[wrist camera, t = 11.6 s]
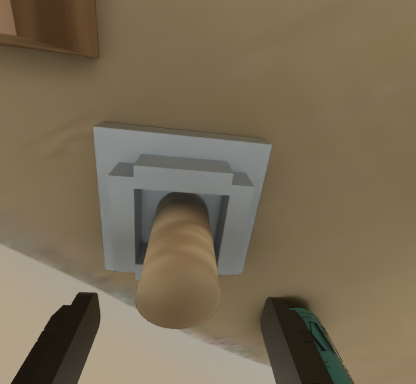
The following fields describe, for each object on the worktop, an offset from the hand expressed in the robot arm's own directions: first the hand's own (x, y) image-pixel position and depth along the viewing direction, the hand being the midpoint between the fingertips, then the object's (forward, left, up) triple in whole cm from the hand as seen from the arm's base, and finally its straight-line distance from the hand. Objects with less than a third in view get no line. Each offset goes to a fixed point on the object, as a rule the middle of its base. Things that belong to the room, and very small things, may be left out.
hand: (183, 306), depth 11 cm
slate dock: (0, 0, -10) cm, 10 cm away
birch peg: (0, 0, -8) cm, 8 cm away
